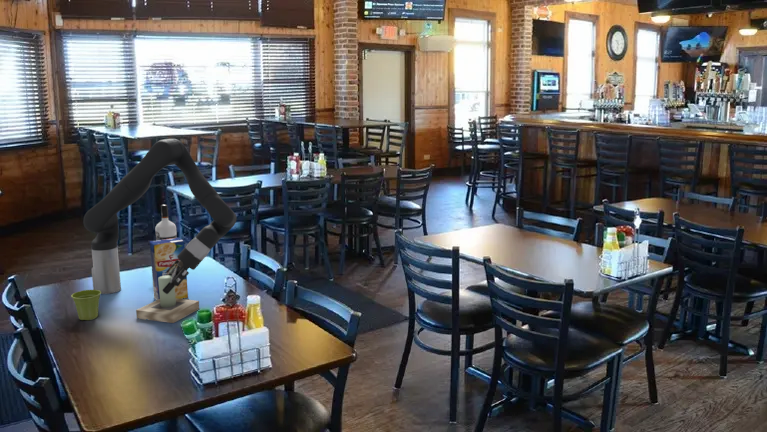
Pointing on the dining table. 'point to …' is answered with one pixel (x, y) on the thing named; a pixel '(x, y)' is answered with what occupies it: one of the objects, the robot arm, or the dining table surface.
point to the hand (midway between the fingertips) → (162, 289)
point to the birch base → (167, 310)
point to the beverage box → (166, 263)
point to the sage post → (165, 299)
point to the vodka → (165, 226)
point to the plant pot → (87, 303)
